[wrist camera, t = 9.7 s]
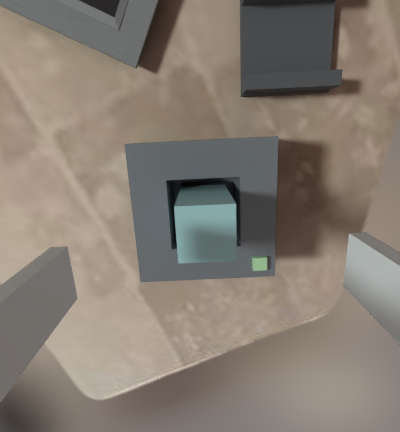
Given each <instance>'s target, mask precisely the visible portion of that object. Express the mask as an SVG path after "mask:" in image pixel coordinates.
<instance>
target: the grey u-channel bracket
mask: <svg viewBox="0 0 400 432" xmlns="http://www.w3.org/2000/svg"><path fill="white" fill-rule="evenodd" d="M335 1H336V0H240V43H241V97H243V96H263V95H283V94H302V93H322V92H327V91H329V90H330V89H332V88H335V87H338V86H340V85H341V80H342V69H341V70H331V57H332V43H333V28H334V14H335Z"/></svg>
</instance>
